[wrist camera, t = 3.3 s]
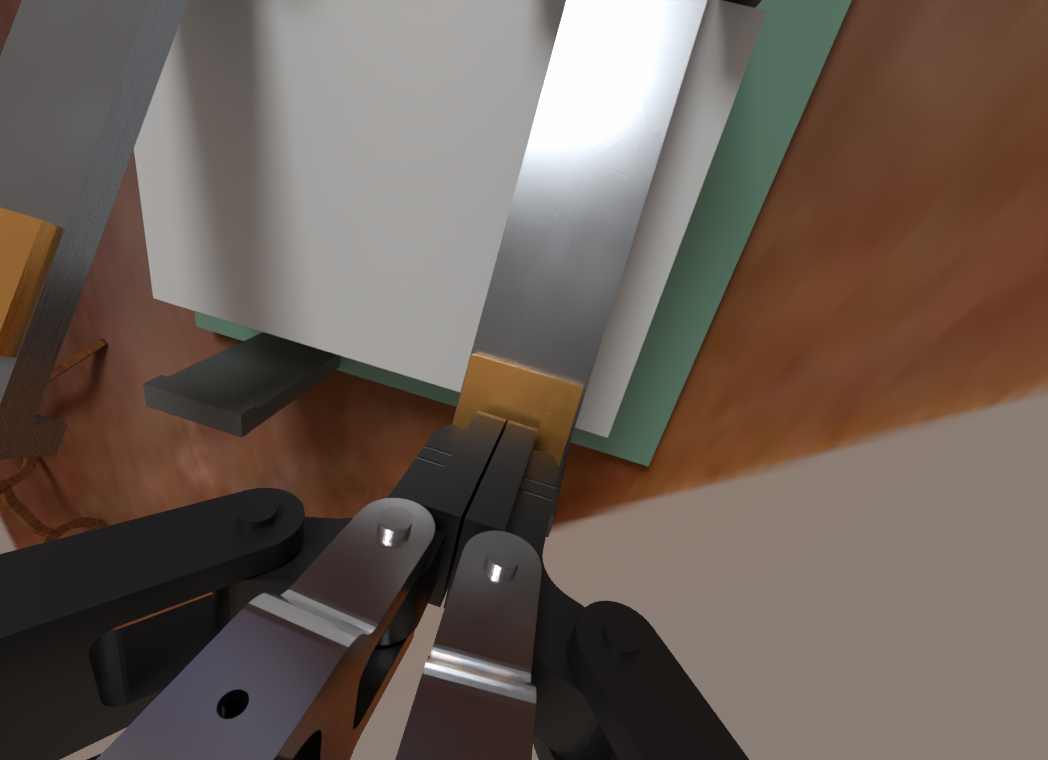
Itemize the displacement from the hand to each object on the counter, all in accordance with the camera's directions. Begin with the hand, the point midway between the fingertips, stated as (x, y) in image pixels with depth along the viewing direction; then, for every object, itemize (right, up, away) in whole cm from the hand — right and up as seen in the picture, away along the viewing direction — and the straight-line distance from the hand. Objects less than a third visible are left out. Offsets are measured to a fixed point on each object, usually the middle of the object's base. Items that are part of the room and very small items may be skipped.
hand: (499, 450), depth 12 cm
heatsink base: (-3, +10, +9) cm, 14 cm away
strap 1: (-10, +8, +1) cm, 13 cm away
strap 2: (+2, +5, +1) cm, 5 cm away
